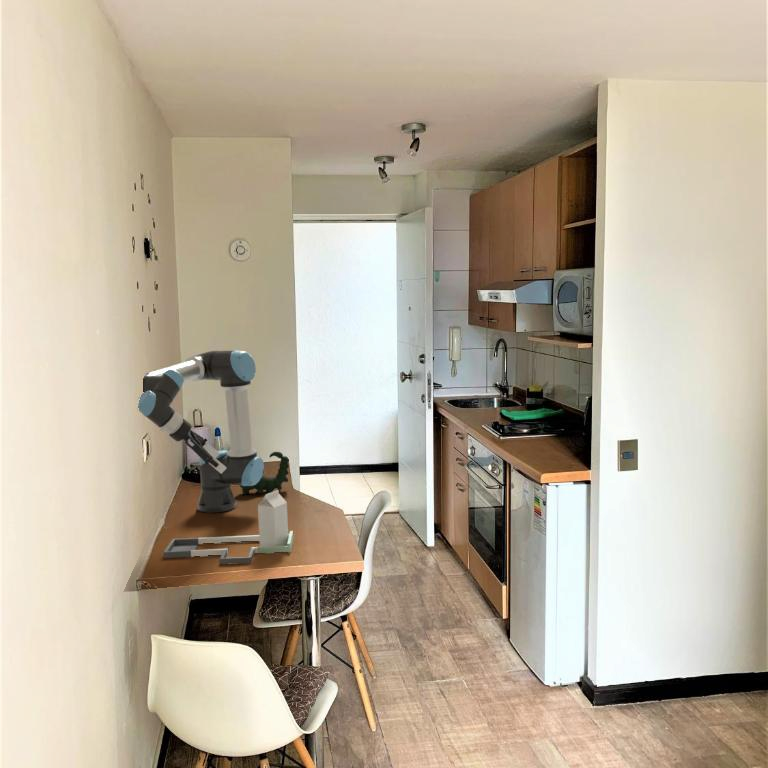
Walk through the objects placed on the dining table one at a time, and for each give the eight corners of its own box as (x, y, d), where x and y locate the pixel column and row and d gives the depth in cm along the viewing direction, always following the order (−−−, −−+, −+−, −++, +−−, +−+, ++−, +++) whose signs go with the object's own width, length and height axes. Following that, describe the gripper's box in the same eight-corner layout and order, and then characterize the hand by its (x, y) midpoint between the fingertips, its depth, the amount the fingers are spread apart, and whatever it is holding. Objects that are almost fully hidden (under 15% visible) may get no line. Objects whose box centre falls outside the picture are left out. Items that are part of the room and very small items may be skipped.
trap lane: (173, 544, 270) (172, 536, 269) (293, 539, 272) (292, 530, 271) (157, 567, 247) (156, 558, 246) (288, 561, 249) (288, 552, 249)
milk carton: (288, 544, 266) (286, 491, 264) (276, 550, 260) (273, 496, 257) (272, 541, 269) (270, 488, 267) (259, 547, 263) (256, 493, 261)
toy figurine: (286, 491, 344) (229, 491, 338) (288, 449, 342) (231, 448, 336) (288, 496, 335) (230, 496, 329) (290, 453, 333) (231, 453, 327)
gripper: (164, 422, 274) (207, 457, 284) (172, 447, 252) (218, 485, 262) (179, 407, 274) (221, 443, 284) (188, 431, 252) (234, 469, 262)
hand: (220, 463), depth 273 cm, fingers open, 13 cm apart
